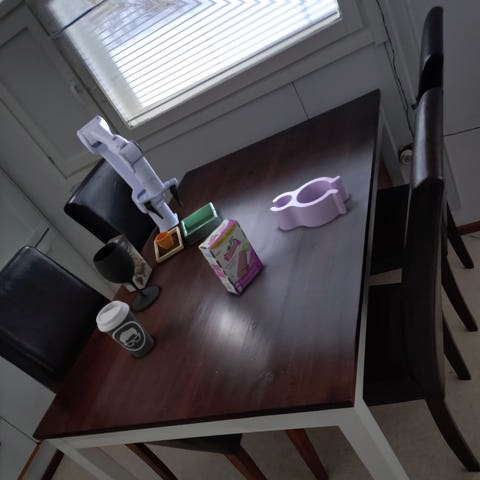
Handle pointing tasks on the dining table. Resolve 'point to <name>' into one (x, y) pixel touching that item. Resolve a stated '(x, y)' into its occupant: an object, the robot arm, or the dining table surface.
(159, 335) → the dining table surface
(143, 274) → the coffee box
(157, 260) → the tray
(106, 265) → the wine glass
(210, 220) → the basin
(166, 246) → the bowl
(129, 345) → the coffee cup
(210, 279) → the dining table surface
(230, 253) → the candy bar box
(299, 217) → the clip
